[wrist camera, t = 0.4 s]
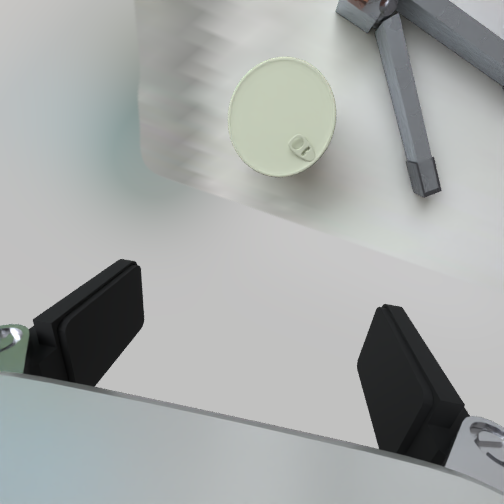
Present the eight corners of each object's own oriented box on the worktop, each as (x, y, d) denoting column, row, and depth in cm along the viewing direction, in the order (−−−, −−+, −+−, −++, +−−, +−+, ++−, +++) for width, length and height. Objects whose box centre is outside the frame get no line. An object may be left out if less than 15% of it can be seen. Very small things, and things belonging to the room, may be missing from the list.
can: (283, 179, 35) (278, 200, 25) (233, 126, 34) (203, 123, 23) (340, 124, 32) (362, 119, 21) (287, 61, 30) (282, 21, 19)
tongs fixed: (335, 11, 28) (340, -4, 25) (364, -43, 26) (374, -67, 23) (509, 131, 30) (533, 131, 27) (549, 89, 28) (580, 84, 25)
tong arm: (372, 33, 28) (381, 22, 25) (390, 23, 27) (401, 11, 25) (413, 192, 33) (424, 197, 31) (429, 186, 33) (441, 191, 30)
